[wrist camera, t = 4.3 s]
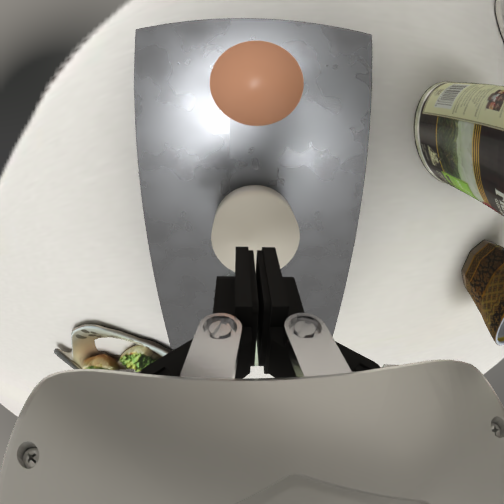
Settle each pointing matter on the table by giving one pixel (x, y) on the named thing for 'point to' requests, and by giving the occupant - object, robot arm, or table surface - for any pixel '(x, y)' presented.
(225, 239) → the button cream
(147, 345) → the avocado toast plate
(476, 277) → the ceramic cup
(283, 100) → the brown egg
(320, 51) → the panel
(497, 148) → the coffee can
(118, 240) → the table surface
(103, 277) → the table surface
